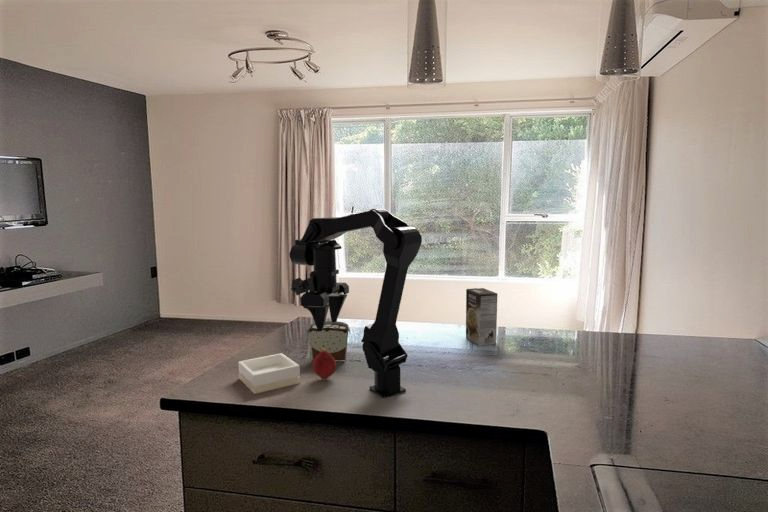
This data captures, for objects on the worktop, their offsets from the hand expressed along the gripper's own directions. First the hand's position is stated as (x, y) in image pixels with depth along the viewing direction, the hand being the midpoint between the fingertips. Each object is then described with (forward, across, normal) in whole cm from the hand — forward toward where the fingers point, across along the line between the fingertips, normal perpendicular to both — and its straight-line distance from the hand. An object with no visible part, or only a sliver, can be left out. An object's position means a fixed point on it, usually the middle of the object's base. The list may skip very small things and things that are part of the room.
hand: (327, 326), depth 126 cm
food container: (+12, -11, -4) cm, 17 cm away
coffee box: (+13, -38, +36) cm, 54 cm away
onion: (+13, +5, +1) cm, 13 cm away
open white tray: (+12, +9, -12) cm, 20 cm away
